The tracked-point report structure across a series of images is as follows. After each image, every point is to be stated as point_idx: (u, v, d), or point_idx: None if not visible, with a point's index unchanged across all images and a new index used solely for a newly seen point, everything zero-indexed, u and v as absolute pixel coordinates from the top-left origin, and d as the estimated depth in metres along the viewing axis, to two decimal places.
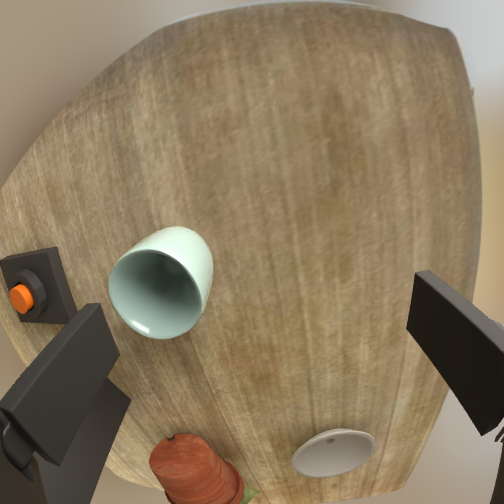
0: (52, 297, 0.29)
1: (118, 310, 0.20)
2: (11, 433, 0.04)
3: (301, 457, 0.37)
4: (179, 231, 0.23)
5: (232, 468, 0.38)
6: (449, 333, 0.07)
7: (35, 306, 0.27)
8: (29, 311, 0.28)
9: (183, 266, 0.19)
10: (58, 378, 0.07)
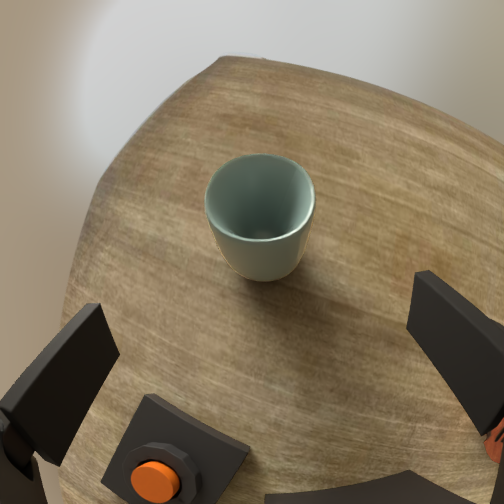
0: (195, 446, 0.18)
1: (249, 239, 0.17)
2: (11, 433, 0.04)
3: None
4: None
5: None
6: (449, 333, 0.07)
7: (181, 474, 0.16)
8: (180, 493, 0.15)
9: (250, 155, 0.20)
10: (58, 378, 0.07)
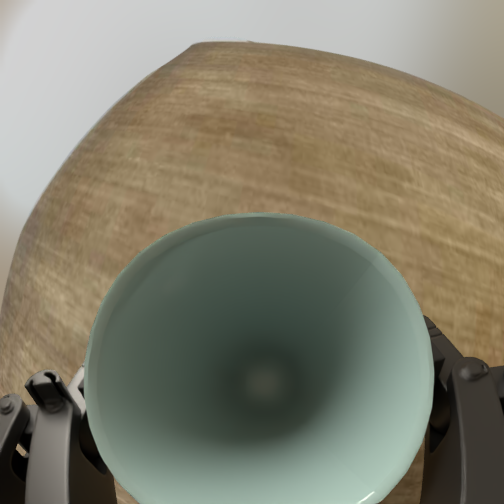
0: None
1: None
2: (87, 421, 0.06)
3: None
4: None
5: None
6: None
7: None
8: None
9: (215, 220, 0.06)
10: None
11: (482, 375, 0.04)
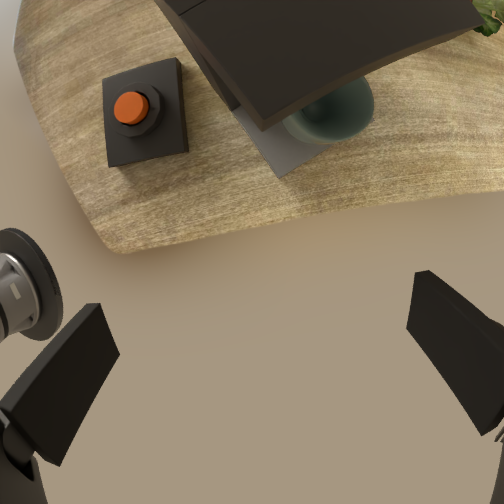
0: (144, 77, 0.26)
1: (346, 136, 0.20)
2: (11, 433, 0.04)
3: None
4: None
5: None
6: (449, 333, 0.07)
7: (143, 90, 0.25)
8: (150, 104, 0.26)
9: None
10: (58, 378, 0.07)
11: None
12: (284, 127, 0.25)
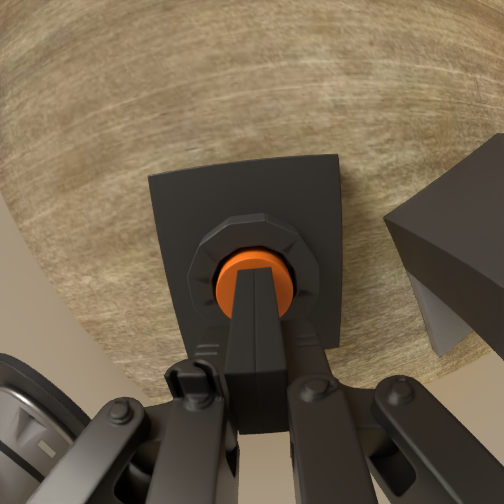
0: (265, 193, 0.14)
1: None
2: (230, 418, 0.06)
3: None
4: None
5: None
6: None
7: (280, 246, 0.13)
8: (298, 281, 0.14)
9: None
10: None
11: (329, 392, 0.05)
12: None
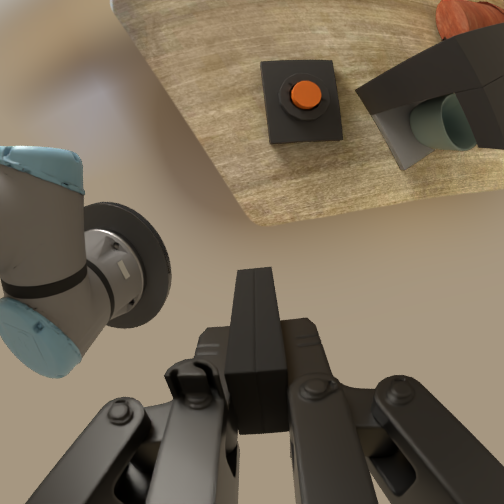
0: (306, 70, 0.31)
1: (468, 148, 0.25)
2: (230, 418, 0.06)
3: None
4: (419, 109, 0.29)
5: None
6: None
7: (314, 82, 0.30)
8: (321, 95, 0.31)
9: (447, 97, 0.23)
10: None
11: (329, 392, 0.05)
12: (420, 134, 0.31)
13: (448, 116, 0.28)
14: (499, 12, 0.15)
